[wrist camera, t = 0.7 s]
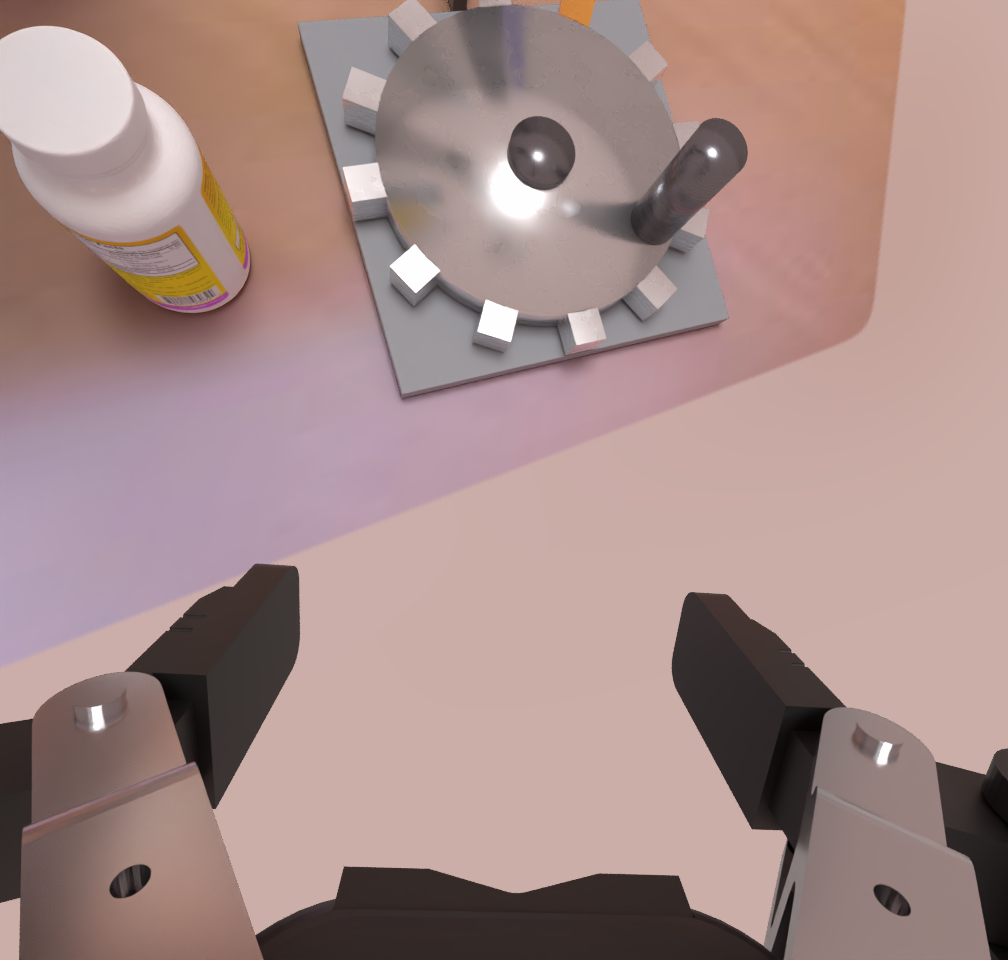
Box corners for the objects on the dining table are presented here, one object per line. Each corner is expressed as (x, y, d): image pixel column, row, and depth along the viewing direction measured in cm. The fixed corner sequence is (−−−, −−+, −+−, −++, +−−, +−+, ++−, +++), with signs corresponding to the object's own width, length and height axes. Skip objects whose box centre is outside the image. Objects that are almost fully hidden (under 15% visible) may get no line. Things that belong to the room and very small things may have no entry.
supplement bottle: (174, 182, 31) (32, -45, 18) (276, 252, 32) (206, 82, 19) (98, 270, 30) (-109, 93, 17) (206, 340, 31) (84, 220, 18)
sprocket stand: (280, -30, 33) (258, -148, 27) (613, -46, 38) (654, -148, 32) (401, 398, 33) (405, 373, 27) (718, 324, 38) (778, 289, 32)
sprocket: (296, 17, 32) (262, -174, 23) (640, -6, 37) (720, -169, 28) (402, 392, 31) (409, 345, 23) (731, 316, 37) (841, 253, 28)
